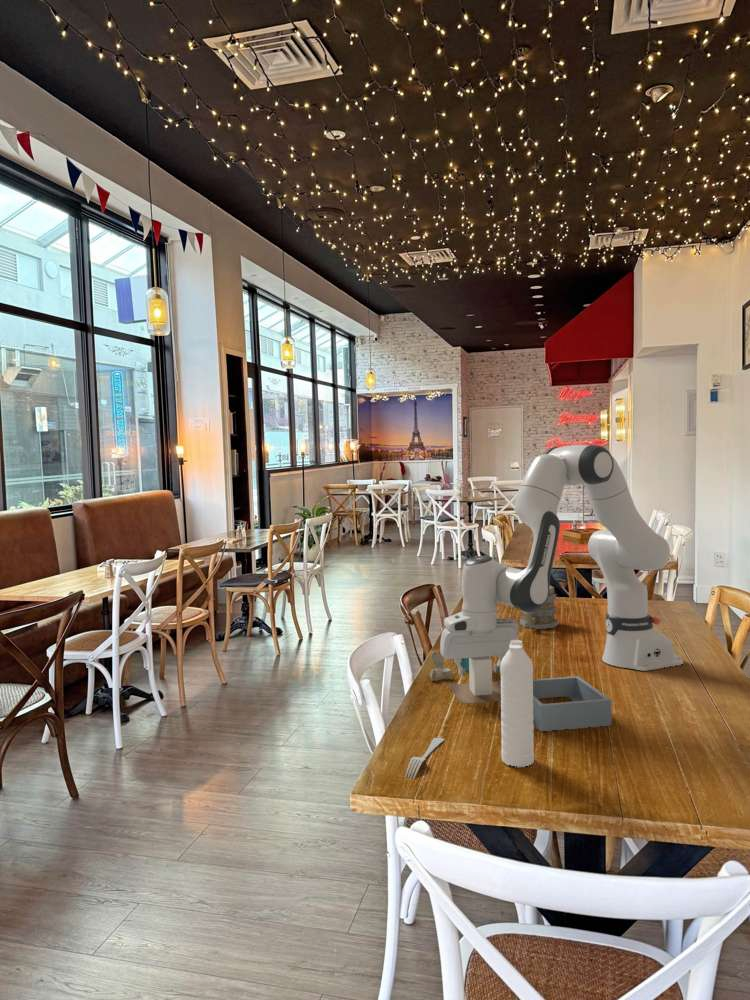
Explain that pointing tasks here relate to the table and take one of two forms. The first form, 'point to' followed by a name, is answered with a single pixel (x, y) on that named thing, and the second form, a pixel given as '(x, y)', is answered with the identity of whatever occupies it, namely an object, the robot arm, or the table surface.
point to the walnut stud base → (468, 697)
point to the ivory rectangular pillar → (480, 675)
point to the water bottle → (517, 707)
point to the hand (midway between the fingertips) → (479, 673)
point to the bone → (439, 668)
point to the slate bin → (569, 705)
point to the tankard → (542, 614)
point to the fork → (432, 746)
